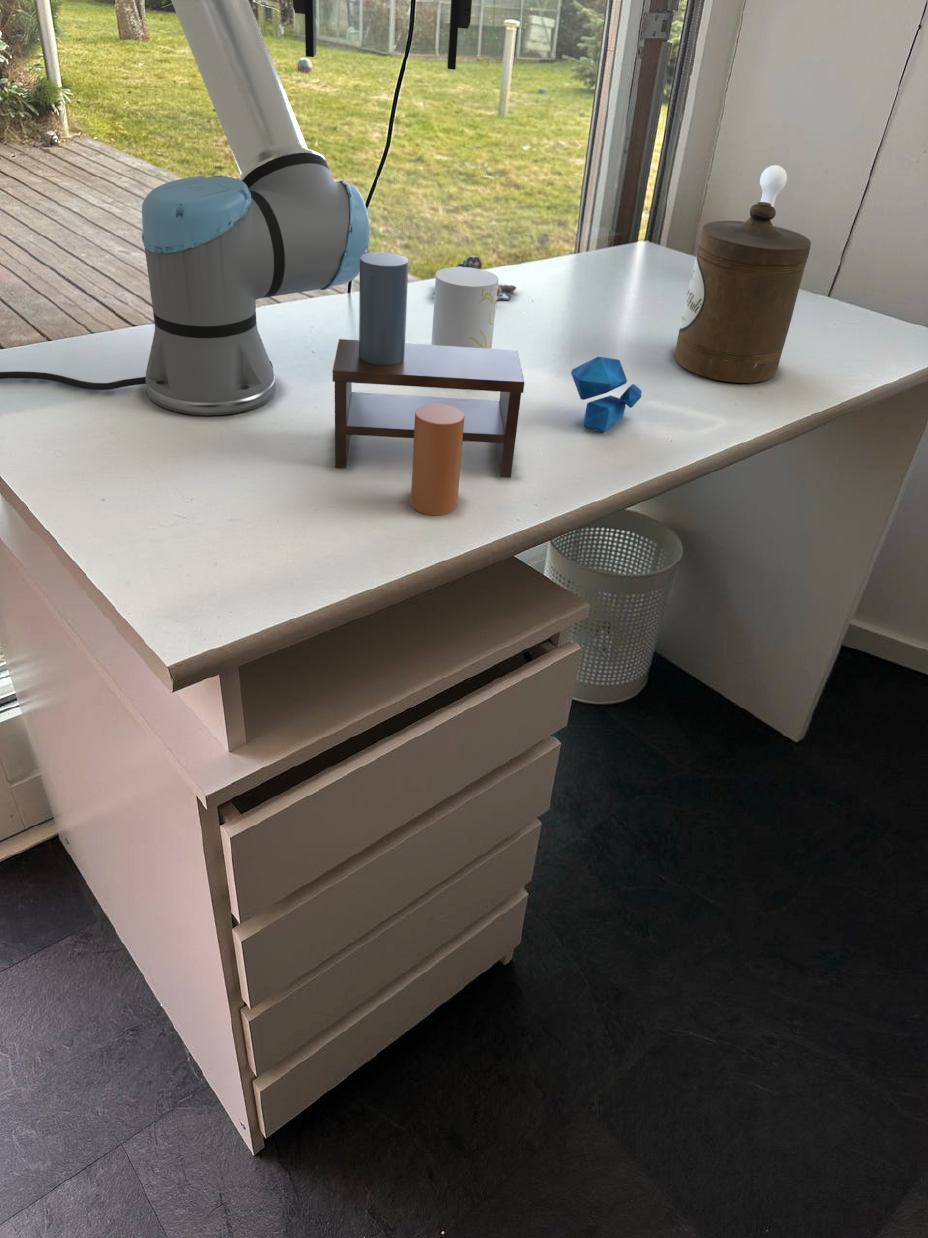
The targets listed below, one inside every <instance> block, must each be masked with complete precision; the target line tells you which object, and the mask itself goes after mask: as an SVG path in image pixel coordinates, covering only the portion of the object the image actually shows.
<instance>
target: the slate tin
mask: <svg viewBox="0 0 928 1238" xmlns="http://www.w3.org/2000/svg"><path fill="white" fill-rule="evenodd" d="M408 280H409V259H408V258H407V257H406V256H403V255H401V254H398V253H394V252H393V253H392V252H386V251H385V252H384V251H382V252H381V251H374V252H368V253H367V254H363V255H362V256H360V273H359V287H358V288H359V291H358V293H359V294H358V295H359V296H358V297H359V299H358V301H359V302H358V303H359V305H358V306H359V307H358V316H359V317H358V340H359V358H360V359H361V360H363V361H364V362H367V363H370V364H374V365H394V364H398V363H400V362H402V361H403V360H404V357H405V343H406V330H407V329H406V328H407V307H408V306H407V305H408Z"/></svg>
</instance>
